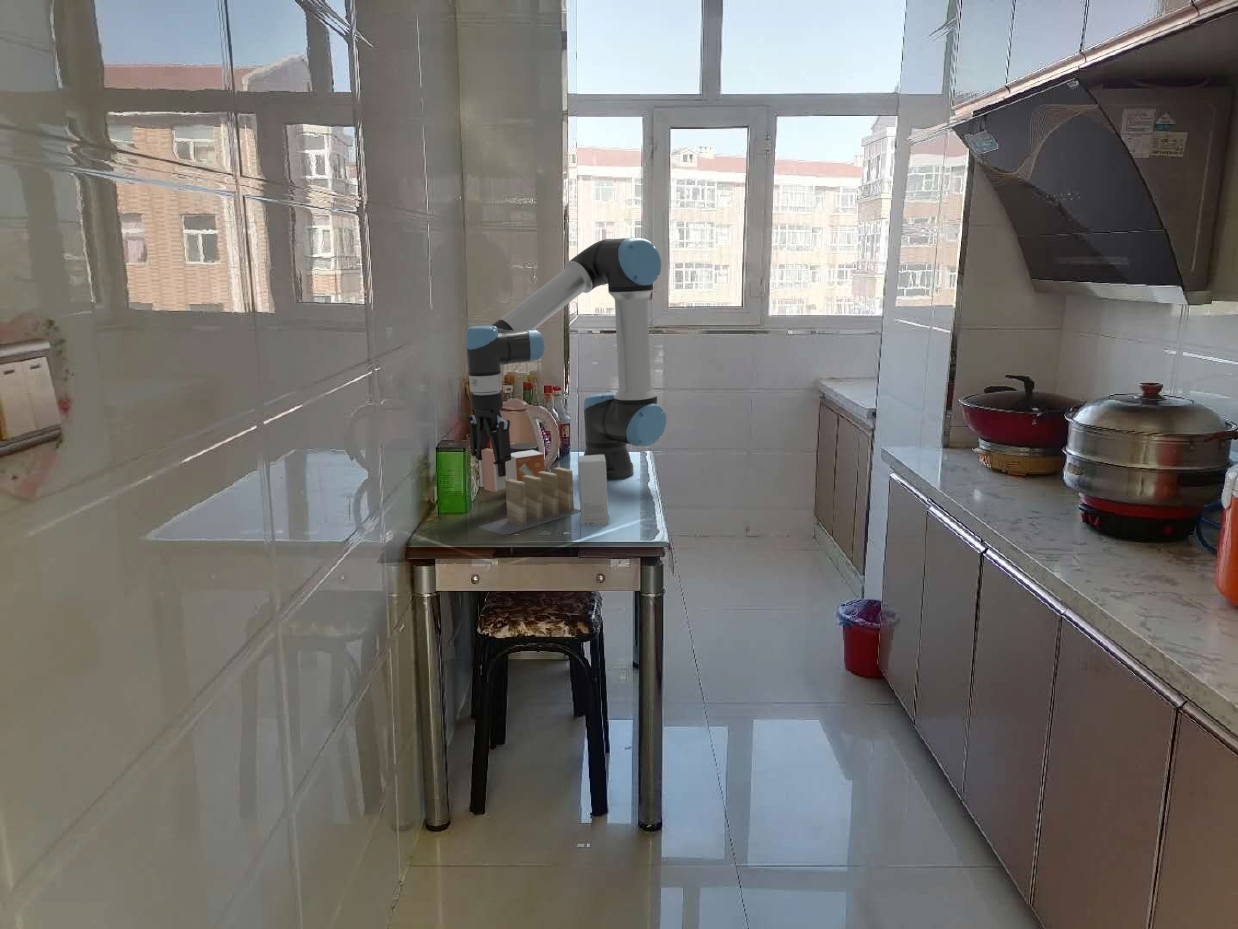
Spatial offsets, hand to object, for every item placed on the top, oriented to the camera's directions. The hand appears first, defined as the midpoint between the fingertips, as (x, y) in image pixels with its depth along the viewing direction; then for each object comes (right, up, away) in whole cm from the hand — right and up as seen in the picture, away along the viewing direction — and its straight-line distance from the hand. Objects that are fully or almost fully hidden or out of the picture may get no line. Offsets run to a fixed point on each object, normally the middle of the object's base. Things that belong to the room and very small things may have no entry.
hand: (493, 487), depth 225 cm
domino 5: (+17, -5, +2) cm, 18 cm away
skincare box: (+25, -8, -8) cm, 27 cm away
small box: (+7, -5, +10) cm, 13 cm away
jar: (+5, -2, +24) cm, 24 cm away
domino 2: (+7, -8, -9) cm, 14 cm away
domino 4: (+14, -6, -2) cm, 15 cm away
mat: (+10, -8, -5) cm, 14 cm away
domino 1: (0, -1, 0) cm, 1 cm away
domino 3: (+10, -7, -5) cm, 14 cm away
